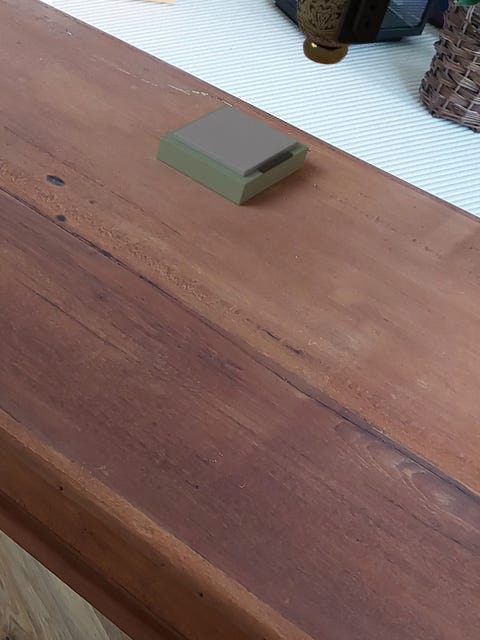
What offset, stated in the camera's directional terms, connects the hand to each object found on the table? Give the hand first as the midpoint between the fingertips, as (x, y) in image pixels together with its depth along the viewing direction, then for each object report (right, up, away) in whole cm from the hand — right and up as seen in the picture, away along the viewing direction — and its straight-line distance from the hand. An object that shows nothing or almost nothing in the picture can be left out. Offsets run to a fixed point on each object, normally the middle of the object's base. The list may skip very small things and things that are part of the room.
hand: (335, 16), depth 72 cm
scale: (-3, -4, +22) cm, 22 cm away
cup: (0, -2, +3) cm, 3 cm away
